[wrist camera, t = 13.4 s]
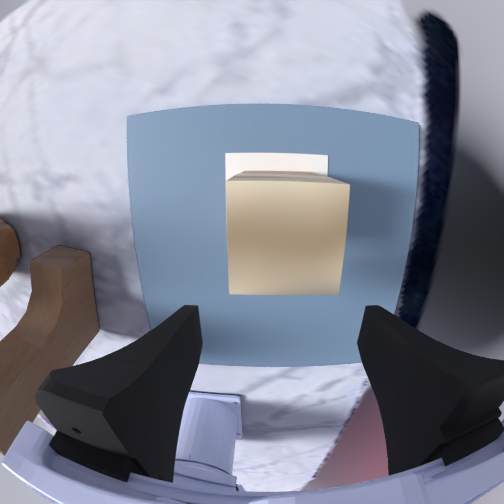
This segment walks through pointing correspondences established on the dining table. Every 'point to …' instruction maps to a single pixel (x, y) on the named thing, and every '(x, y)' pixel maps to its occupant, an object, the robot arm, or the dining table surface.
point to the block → (8, 251)
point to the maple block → (285, 233)
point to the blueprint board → (215, 222)
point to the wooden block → (45, 334)
